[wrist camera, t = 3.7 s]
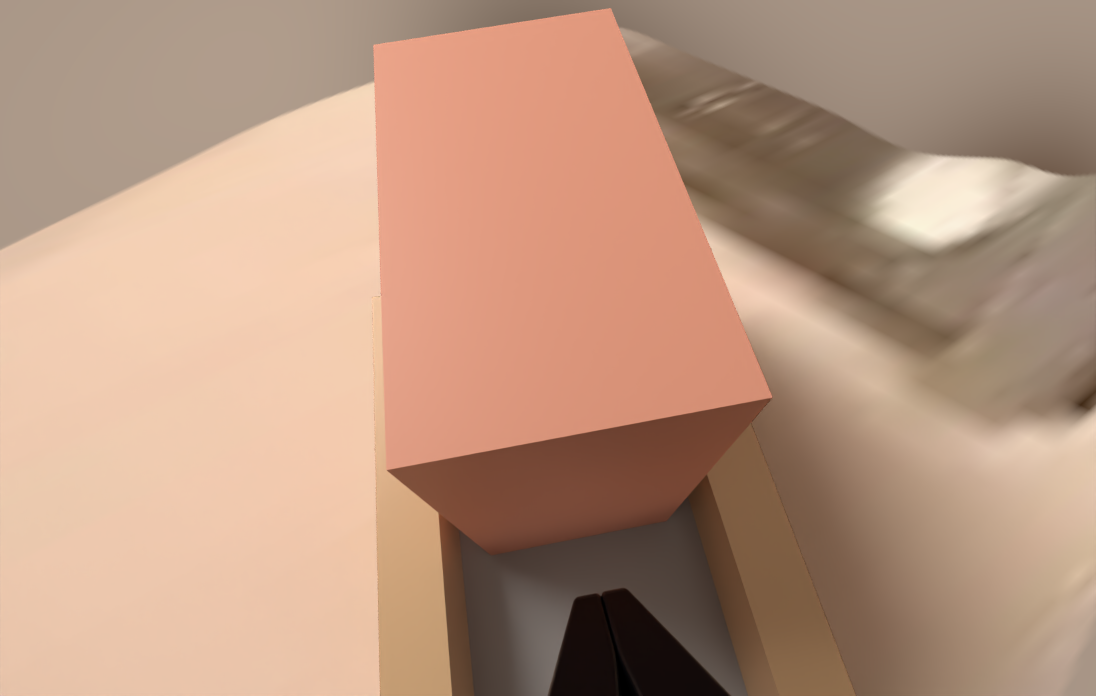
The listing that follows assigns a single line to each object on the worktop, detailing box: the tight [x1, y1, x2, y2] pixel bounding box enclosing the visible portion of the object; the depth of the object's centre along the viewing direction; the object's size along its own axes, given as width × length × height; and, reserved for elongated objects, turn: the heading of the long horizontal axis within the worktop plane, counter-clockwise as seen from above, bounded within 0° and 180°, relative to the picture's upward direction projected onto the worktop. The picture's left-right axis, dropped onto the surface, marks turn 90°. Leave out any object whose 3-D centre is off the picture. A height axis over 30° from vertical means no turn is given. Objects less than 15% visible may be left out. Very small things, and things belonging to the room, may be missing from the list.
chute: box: [372, 296, 856, 696], centre depth 17 cm, size 26×10×3 cm, turn 10°
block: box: [374, 8, 773, 555], centre depth 13 cm, size 9×5×9 cm, turn 10°
